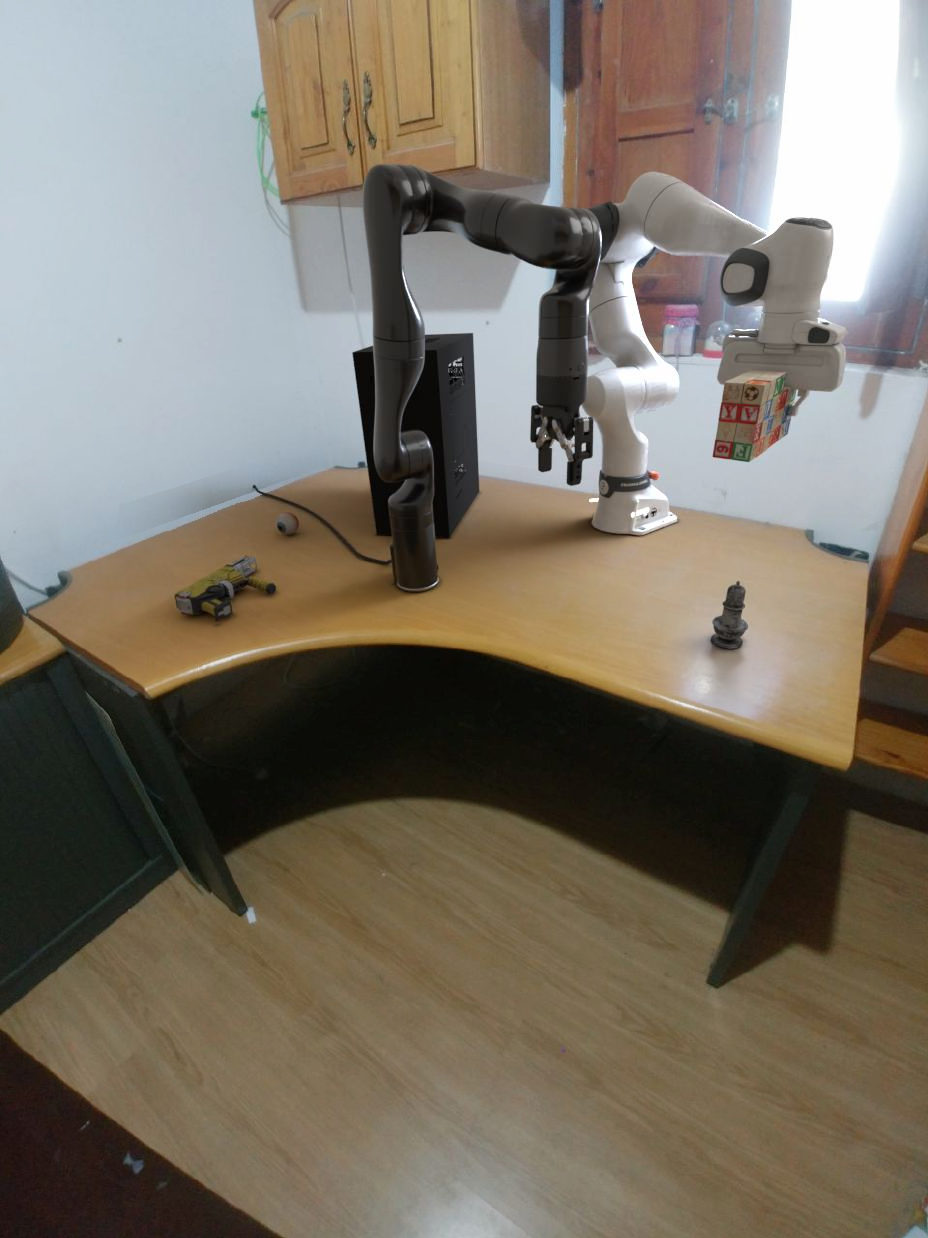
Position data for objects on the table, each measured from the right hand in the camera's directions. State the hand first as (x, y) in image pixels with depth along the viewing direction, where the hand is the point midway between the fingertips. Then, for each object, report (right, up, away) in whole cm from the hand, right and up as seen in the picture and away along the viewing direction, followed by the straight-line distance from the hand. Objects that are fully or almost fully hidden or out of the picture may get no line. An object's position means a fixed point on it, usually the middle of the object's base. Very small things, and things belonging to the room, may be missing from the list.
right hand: (769, 413), depth 110 cm
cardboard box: (-65, -7, +65) cm, 92 cm away
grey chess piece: (-9, -42, -2) cm, 43 cm away
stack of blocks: (-5, -7, -3) cm, 9 cm away
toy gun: (-106, -33, +24) cm, 113 cm away
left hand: (-41, -15, -13) cm, 45 cm away
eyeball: (-104, -15, +55) cm, 118 cm away
